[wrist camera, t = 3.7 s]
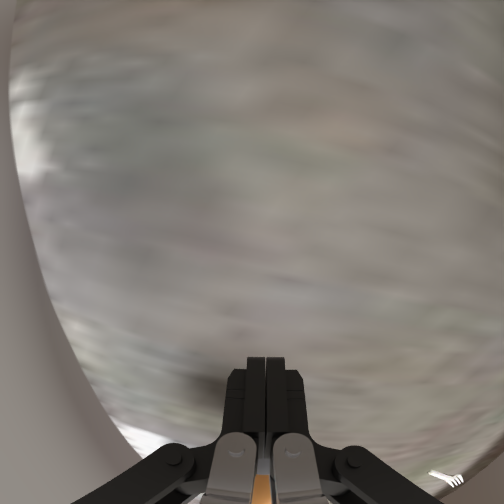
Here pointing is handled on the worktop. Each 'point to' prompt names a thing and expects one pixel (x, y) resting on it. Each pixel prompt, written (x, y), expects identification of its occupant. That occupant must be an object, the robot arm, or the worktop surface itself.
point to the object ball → (261, 490)
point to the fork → (446, 477)
